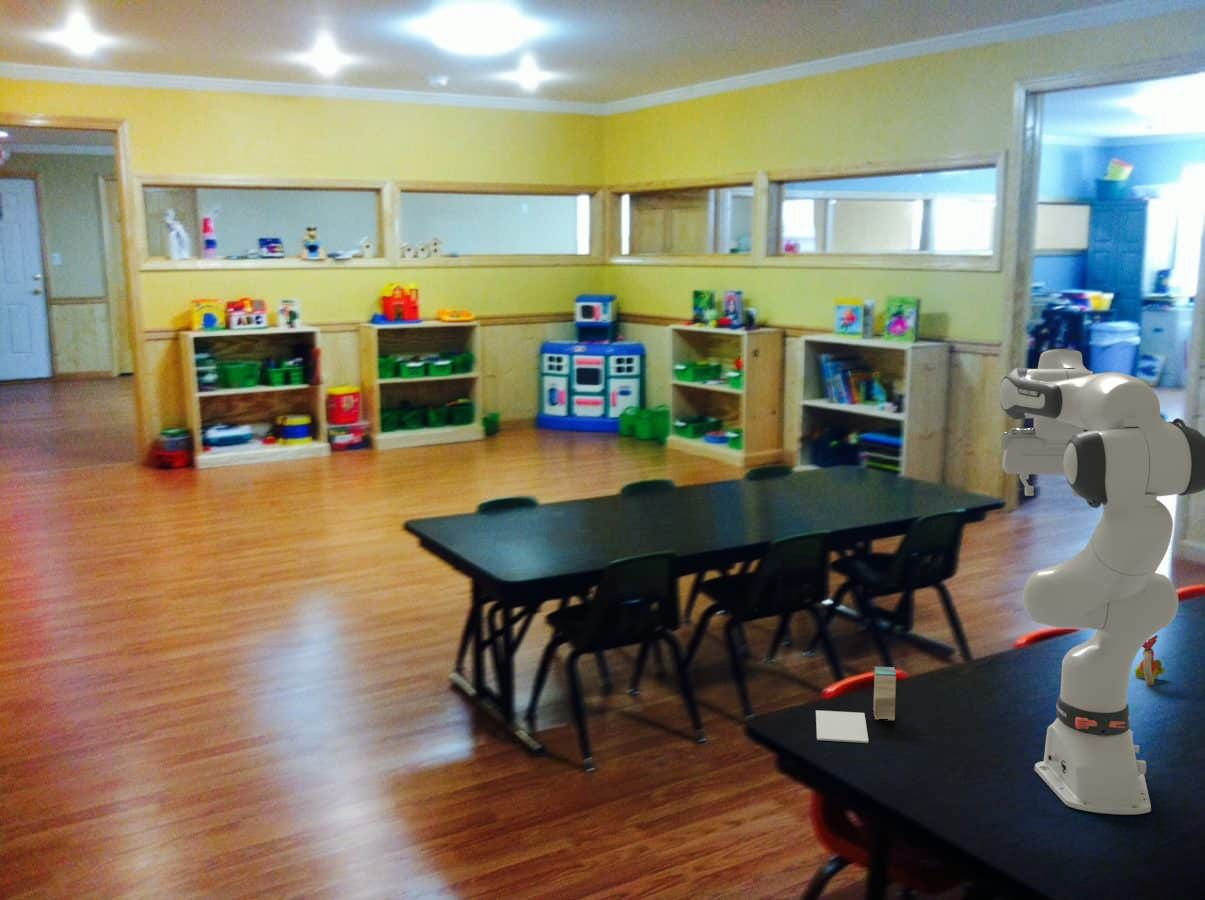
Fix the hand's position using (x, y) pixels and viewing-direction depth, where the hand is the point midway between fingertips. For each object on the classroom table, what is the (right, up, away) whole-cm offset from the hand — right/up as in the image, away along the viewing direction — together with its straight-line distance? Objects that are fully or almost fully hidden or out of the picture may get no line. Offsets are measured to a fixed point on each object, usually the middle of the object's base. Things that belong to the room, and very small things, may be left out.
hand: (1053, 495), depth 223 cm
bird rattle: (+30, -43, +22) cm, 57 cm away
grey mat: (-43, -47, 0) cm, 64 cm away
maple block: (-33, -46, +5) cm, 57 cm away
